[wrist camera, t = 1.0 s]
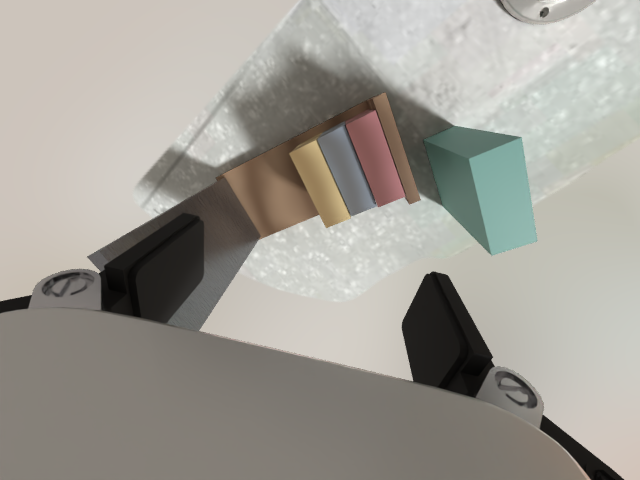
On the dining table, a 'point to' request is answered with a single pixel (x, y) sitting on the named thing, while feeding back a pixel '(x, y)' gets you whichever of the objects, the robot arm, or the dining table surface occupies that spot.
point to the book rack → (327, 171)
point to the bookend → (219, 247)
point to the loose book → (484, 185)
